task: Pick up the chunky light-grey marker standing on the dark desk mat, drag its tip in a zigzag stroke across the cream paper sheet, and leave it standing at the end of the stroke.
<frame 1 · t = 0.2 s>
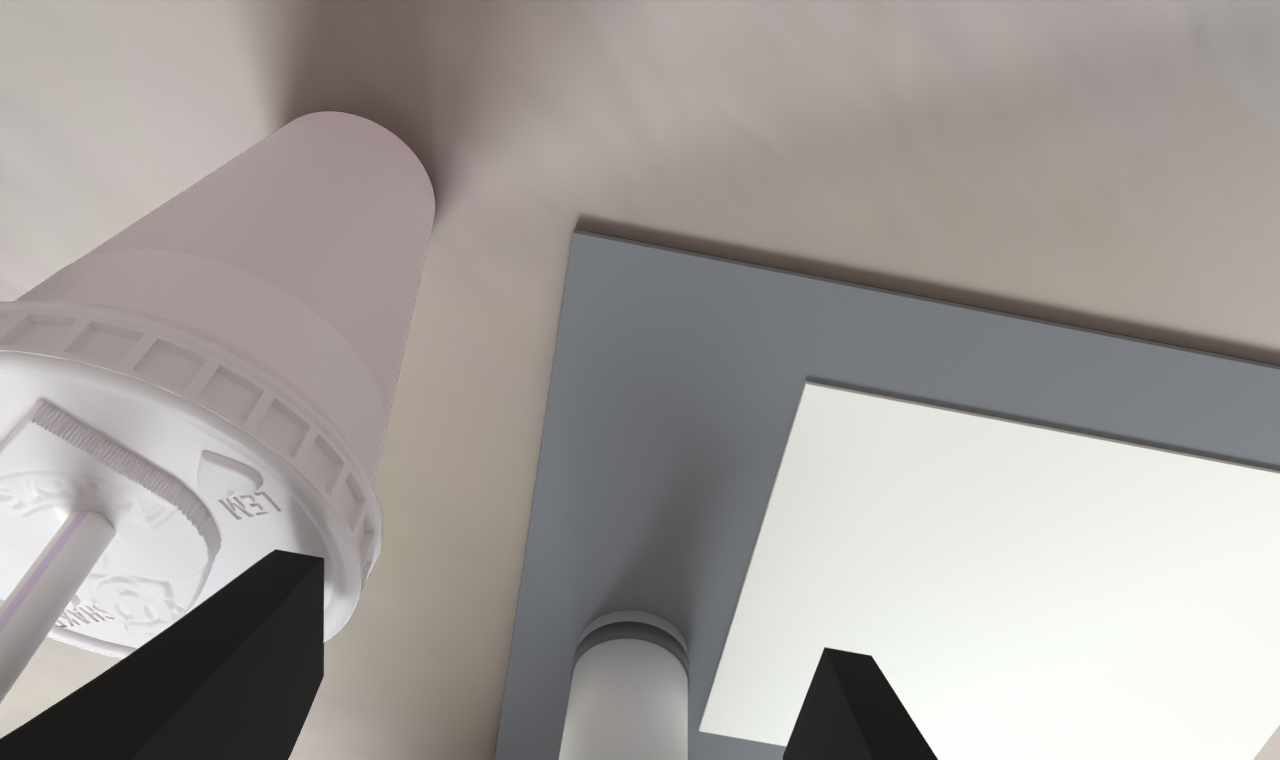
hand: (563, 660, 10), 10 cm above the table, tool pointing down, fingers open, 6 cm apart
desk mat: (892, 664, 24), on the table
paper: (1030, 626, 22), resting on desk mat
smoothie: (354, 189, 18), on the table, touching gripper
marker: (632, 652, 23), resting on desk mat
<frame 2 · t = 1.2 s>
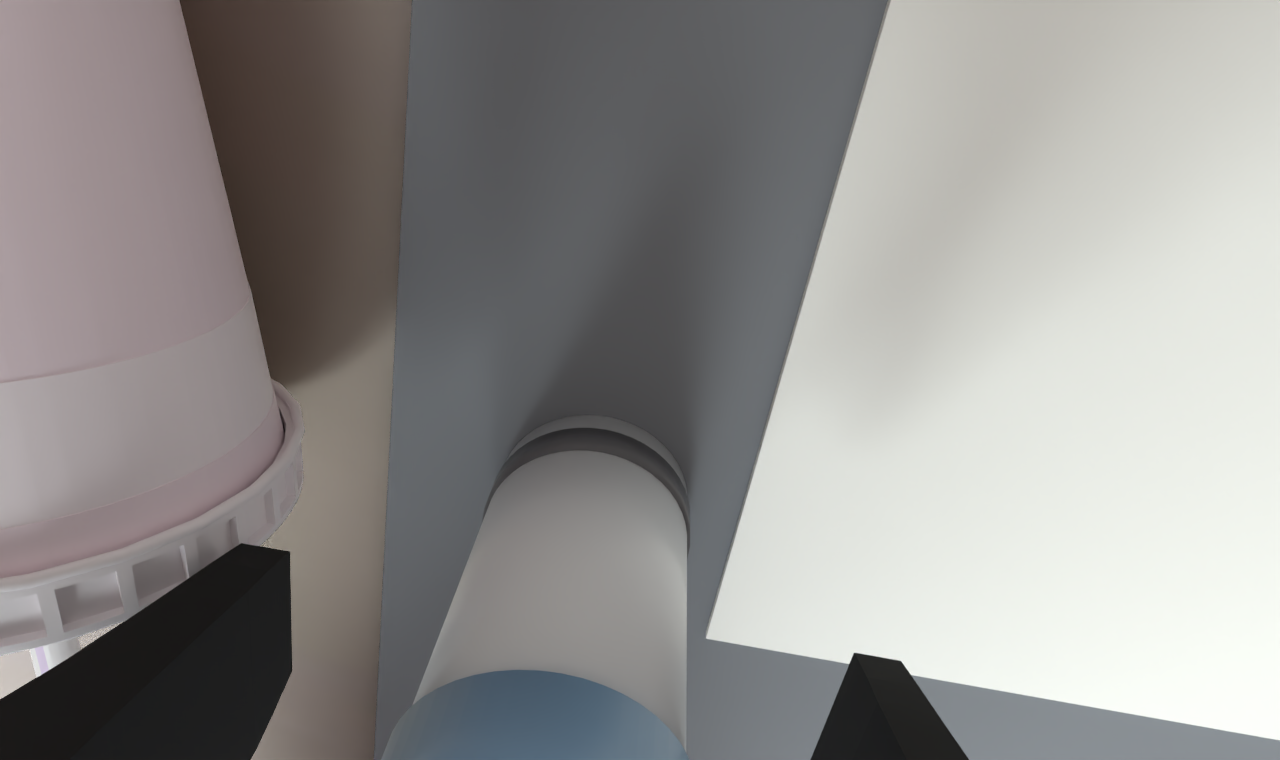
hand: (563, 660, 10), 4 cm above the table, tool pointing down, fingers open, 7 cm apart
desk mat: (1035, 518, 14), on the table
marker: (593, 497, 14), resting on desk mat
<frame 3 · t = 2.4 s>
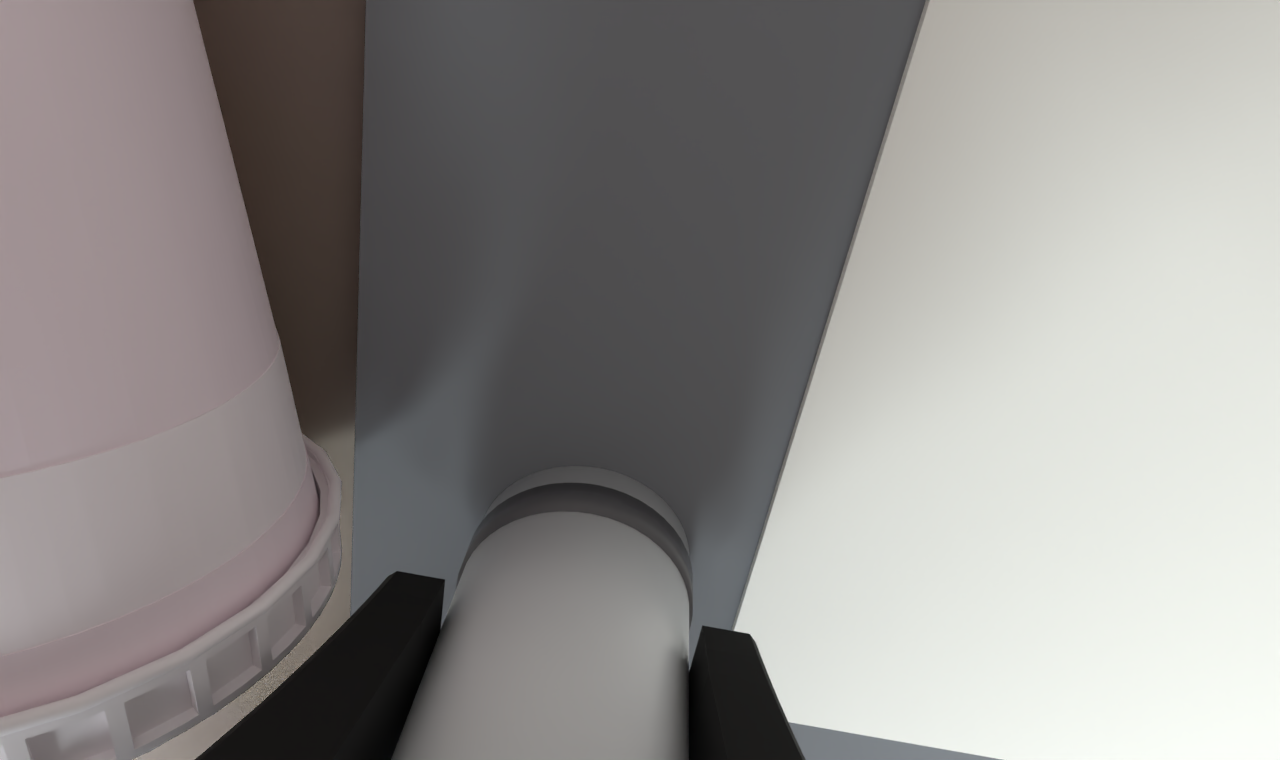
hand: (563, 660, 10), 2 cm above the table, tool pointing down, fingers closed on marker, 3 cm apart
desk mat: (1082, 579, 12), on the table
marker: (583, 555, 12), resting on desk mat, touching gripper
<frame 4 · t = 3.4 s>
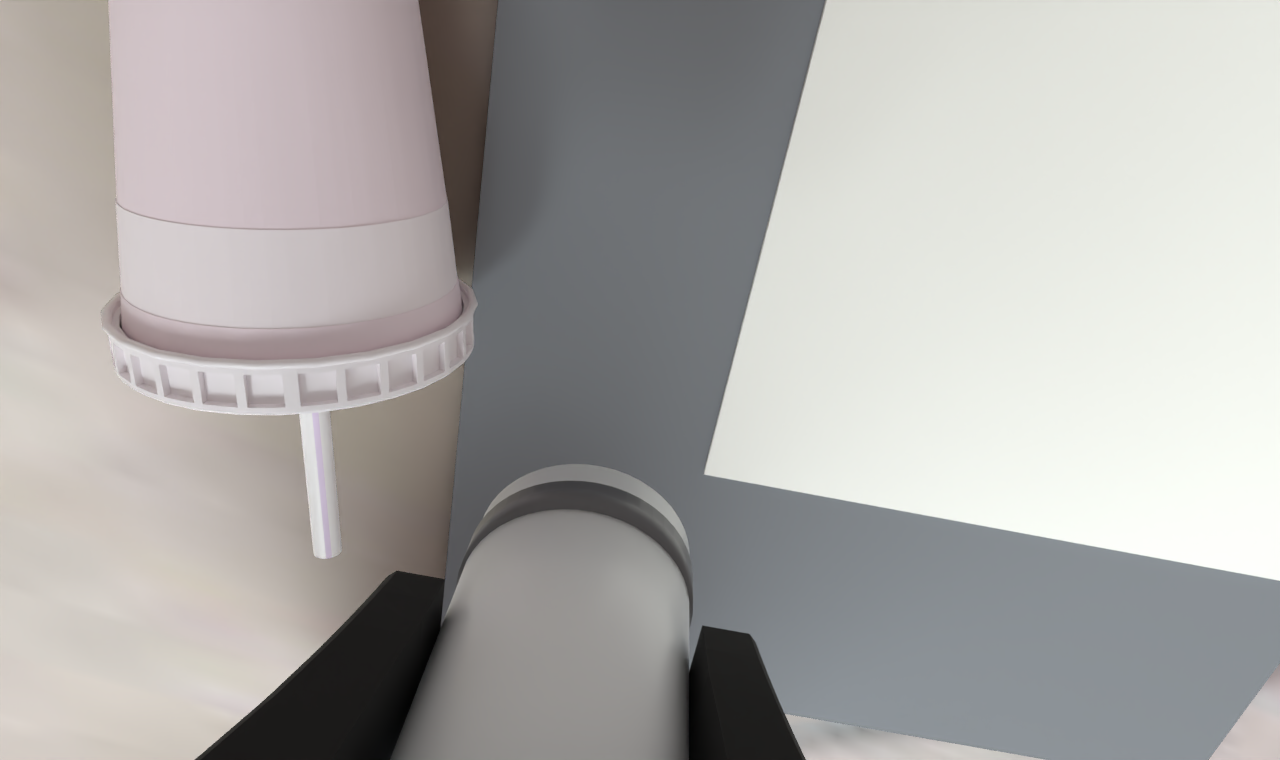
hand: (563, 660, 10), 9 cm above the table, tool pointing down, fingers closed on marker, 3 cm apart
desk mat: (951, 376, 18), on the table
paper: (1133, 305, 17), resting on desk mat
marker: (583, 554, 12), point 7 cm above the table, touching gripper
when the fingers open (3 cm above the table, at t = 8.4 s): marker stays where it is, resting on paper.
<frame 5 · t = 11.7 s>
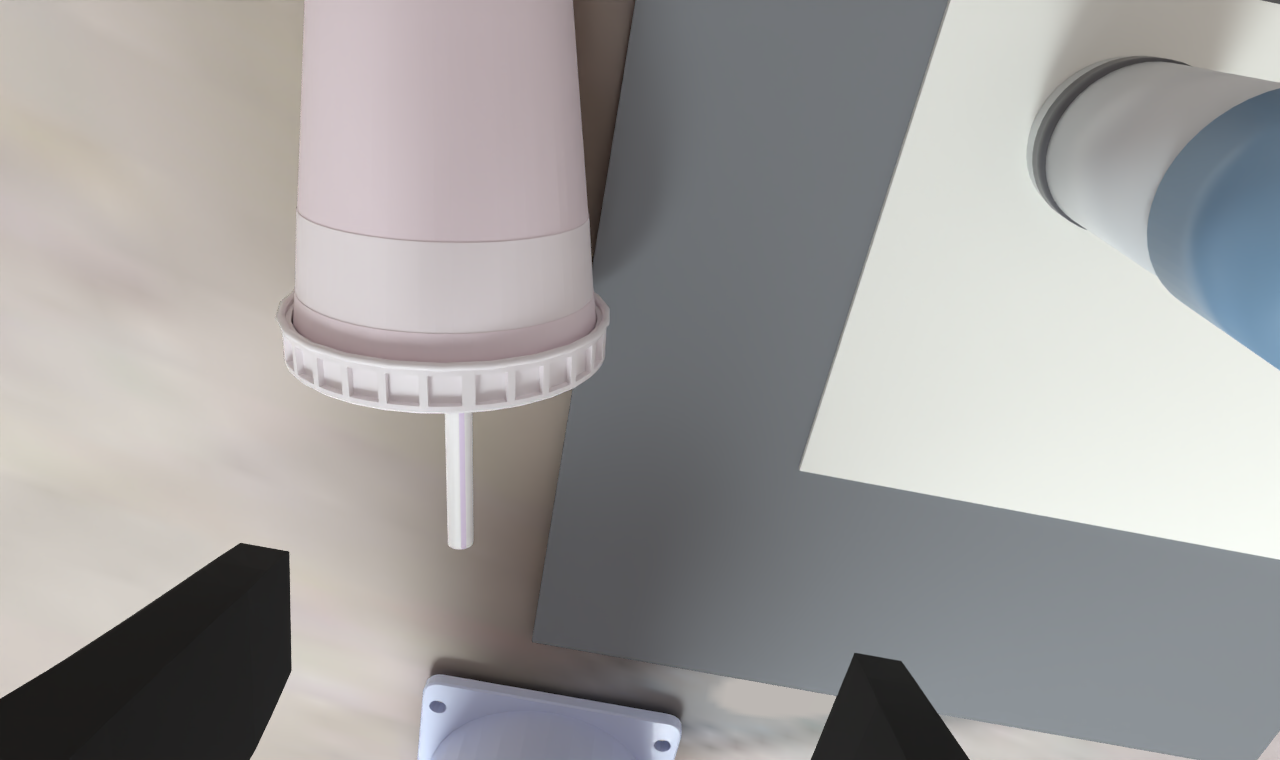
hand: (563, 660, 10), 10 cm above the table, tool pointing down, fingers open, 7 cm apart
desk mat: (1038, 377, 20), on the table
paper: (1216, 310, 18), resting on desk mat
marker: (1108, 140, 17), point 1 cm above the table, touching paper
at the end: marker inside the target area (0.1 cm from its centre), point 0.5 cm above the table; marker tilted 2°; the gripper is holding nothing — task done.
